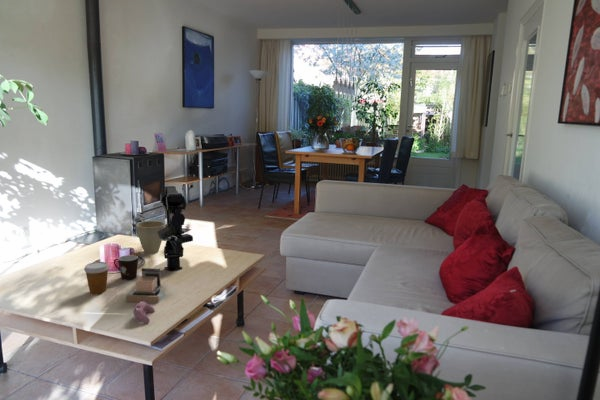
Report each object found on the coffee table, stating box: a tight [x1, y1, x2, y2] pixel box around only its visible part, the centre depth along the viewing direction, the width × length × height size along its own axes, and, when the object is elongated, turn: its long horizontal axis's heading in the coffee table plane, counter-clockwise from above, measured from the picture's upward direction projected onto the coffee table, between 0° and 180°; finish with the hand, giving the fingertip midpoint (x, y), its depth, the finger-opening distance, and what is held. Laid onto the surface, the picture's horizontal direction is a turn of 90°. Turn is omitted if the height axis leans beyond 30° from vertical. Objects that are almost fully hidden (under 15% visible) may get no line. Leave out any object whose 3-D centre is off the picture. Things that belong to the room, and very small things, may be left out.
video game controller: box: [133, 301, 156, 324], centre depth 164 cm, size 10×5×7 cm, turn 6°
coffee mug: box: [113, 254, 139, 281], centre depth 203 cm, size 12×9×10 cm
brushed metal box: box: [134, 267, 162, 296], centre depth 182 cm, size 9×8×10 cm
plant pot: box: [135, 220, 166, 255], centre depth 242 cm, size 15×15×16 cm
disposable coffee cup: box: [83, 261, 110, 295], centre depth 186 cm, size 10×10×12 cm
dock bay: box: [126, 288, 166, 304], centre depth 181 cm, size 9×13×3 cm
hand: (176, 253), depth 203 cm, fingers closed
